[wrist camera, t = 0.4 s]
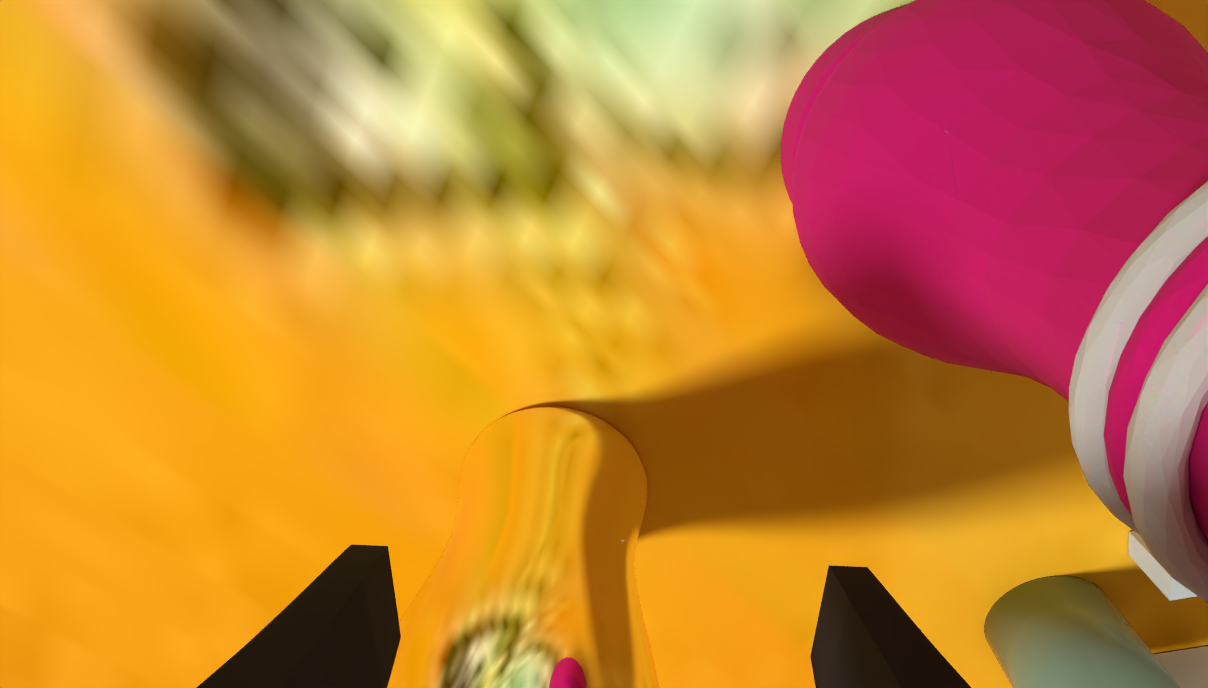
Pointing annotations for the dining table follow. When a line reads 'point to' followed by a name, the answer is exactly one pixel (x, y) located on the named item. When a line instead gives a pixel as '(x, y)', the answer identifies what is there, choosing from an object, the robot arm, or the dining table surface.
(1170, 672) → the rest
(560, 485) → the pale grey carved column
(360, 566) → the robot arm
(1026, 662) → the bottle
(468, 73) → the dining table surface
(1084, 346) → the pepper mill
